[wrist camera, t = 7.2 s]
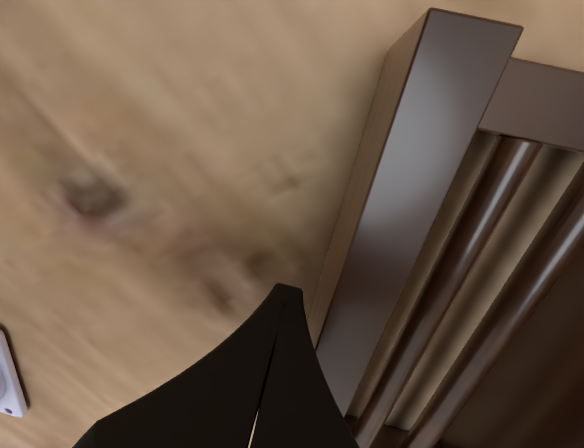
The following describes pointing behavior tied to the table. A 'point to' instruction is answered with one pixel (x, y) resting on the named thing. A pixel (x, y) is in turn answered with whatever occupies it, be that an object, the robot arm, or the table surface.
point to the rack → (459, 245)
